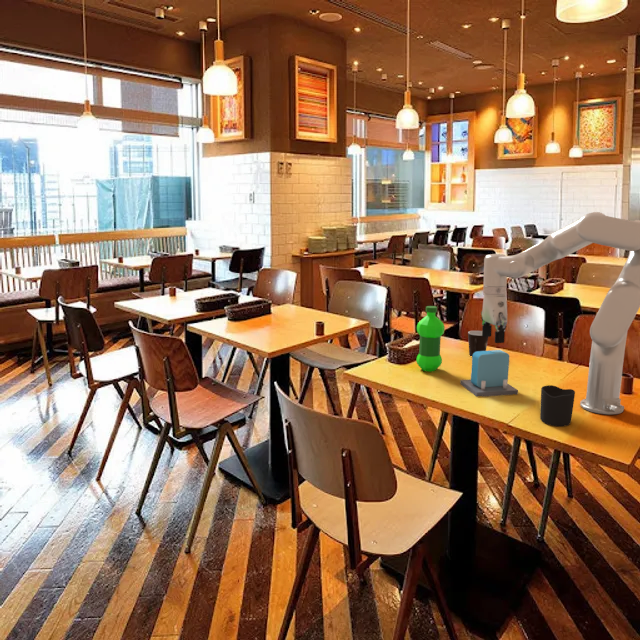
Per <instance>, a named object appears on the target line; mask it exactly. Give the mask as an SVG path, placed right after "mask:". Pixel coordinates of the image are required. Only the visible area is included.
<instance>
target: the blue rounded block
mask: <svg viewBox="0 0 640 640" xmlns="http://www.w3.org/2000/svg"><path fill="white" fill-rule="evenodd" d="M509 368H510V354H509V353H507V352H505V351H503V350H501V349H494V350H493V349H492V350H486V351H477V352H474V353H473V356H472V357H471V373H470V380H471V382H472V383H473V384H474V385H476V386H477V387H479V388H481V381H486V385H485V387H496V386H503V380H504V379H506V380H507V383H508V381H509V370H510V369H509Z"/></svg>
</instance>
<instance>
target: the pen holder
mask: <svg viewBox="0 0 640 640" xmlns="http://www.w3.org/2000/svg"><path fill="white" fill-rule="evenodd" d="M540 389H541V390H540V409H539V410H540V411H539V413H540V416H539V418H540V421H541V422H542V423H543V424H545V425H548V426H552V427H559V428H560V427H562V428H563V427H567V426H569V425H570V424H571V423H572V417H573V410H574V402H575V397H576V391H575V389H572V388H569V389H568V388H567V389H564V388H561V387H558V386H557V385H550V384H549V385H548V384H547V385H543V386H542V387H541V388H540Z"/></svg>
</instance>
